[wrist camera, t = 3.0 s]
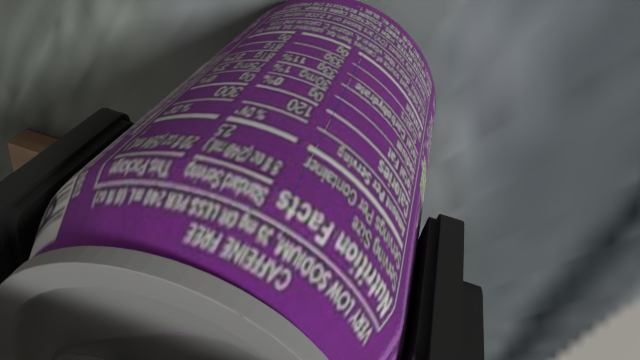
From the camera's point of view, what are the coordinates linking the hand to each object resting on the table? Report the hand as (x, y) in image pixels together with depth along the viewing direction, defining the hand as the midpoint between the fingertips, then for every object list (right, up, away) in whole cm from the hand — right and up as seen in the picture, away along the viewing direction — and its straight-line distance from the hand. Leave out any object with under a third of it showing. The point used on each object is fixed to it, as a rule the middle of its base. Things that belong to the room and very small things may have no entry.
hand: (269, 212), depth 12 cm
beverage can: (+2, +4, +6) cm, 7 cm away
